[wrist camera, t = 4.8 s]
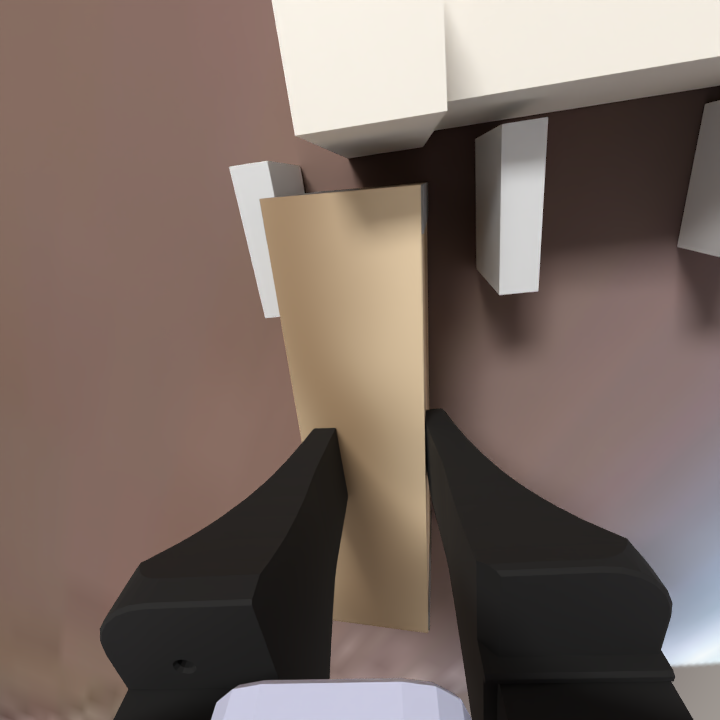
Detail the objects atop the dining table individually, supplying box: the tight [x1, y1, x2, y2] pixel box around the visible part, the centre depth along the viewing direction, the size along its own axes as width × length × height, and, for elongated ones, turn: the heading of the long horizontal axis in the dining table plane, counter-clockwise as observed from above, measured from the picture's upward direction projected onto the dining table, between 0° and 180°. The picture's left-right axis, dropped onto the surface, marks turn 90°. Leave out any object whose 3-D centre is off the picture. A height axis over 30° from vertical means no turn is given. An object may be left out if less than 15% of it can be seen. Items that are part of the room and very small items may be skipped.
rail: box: [259, 182, 431, 633], centre depth 14 cm, size 4×15×5 cm, turn 5°
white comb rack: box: [229, 0, 720, 318], centre depth 9 cm, size 21×6×7 cm, turn 97°
